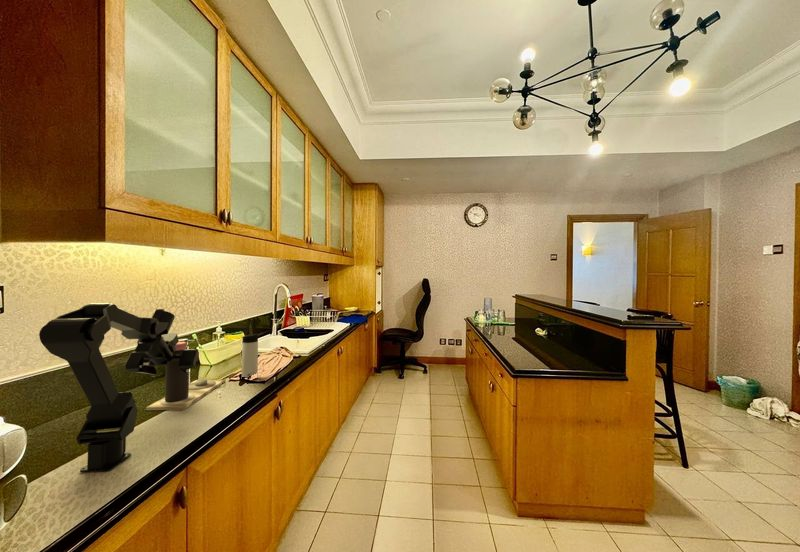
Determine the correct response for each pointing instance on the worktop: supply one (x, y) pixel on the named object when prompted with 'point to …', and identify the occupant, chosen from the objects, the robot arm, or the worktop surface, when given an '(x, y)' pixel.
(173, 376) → the vinegar
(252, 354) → the travel mug
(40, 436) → the worktop surface
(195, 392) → the board
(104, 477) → the worktop surface
